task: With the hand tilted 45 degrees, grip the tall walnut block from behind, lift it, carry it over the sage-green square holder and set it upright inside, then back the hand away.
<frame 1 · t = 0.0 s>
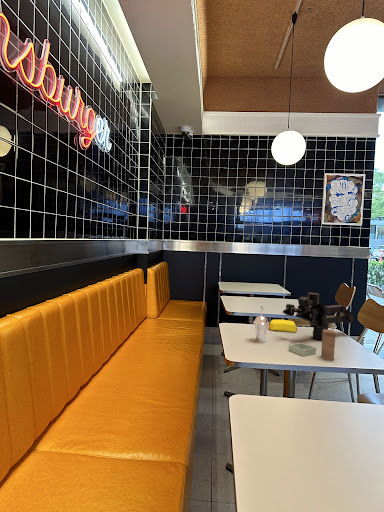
hand: (289, 313, 183), 17 cm above the table, tool horizontal, fingers open, 9 cm apart
cup with straw: (259, 341, 187), on the table
walnut block: (327, 357, 164), on the table
yellow rounded block: (282, 331, 213), on the table
green holder: (302, 352, 171), on the table
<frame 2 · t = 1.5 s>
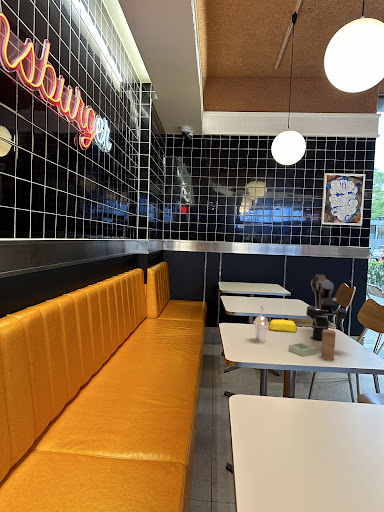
hand: (326, 326, 170), 14 cm above the table, tool tilted 45°, fingers open, 9 cm apart
nothing on the table moved.
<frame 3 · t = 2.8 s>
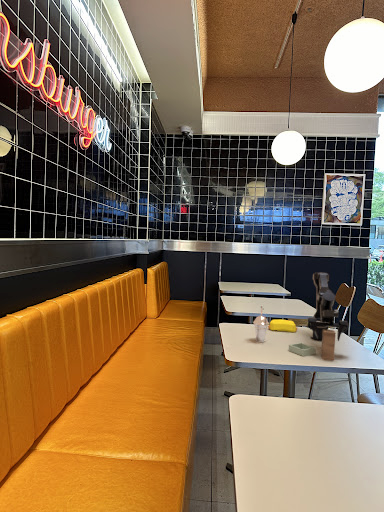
hand: (328, 339, 165), 9 cm above the table, tool tilted 45°, fingers open, 9 cm apart
nothing on the table moved.
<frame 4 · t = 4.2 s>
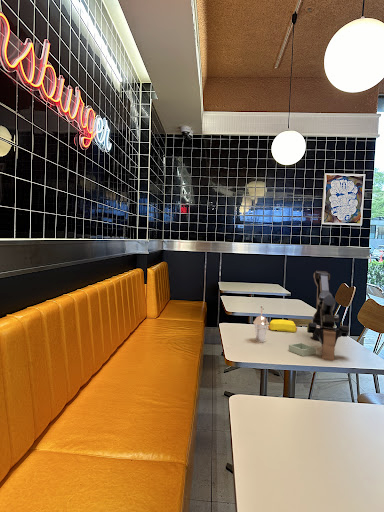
hand: (328, 344, 163), 7 cm above the table, tool tilted 45°, fingers closed on walnut block, 5 cm apart
walnut block: (327, 357, 164), on the table, touching gripper
everything else where it was.
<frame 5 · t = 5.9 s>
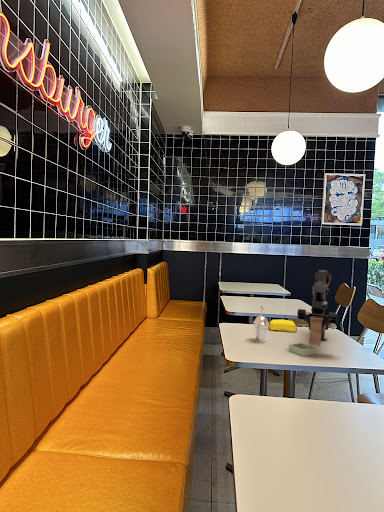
hand: (315, 330, 165), 12 cm above the table, tool tilted 45°, fingers closed on walnut block, 5 cm apart
walnut block: (314, 343, 167), point 6 cm above the table, touching gripper
everything else where it was.
when the fingers open (8 cm above the table, at t = 7.9 s): walnut block drops 1 cm, resting in green holder.
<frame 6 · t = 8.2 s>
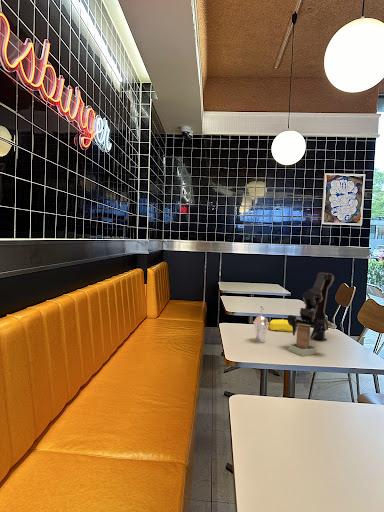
hand: (302, 336, 169), 8 cm above the table, tool tilted 45°, fingers open, 8 cm apart
walnut block: (302, 352, 171), resting in green holder
everything else where it was.
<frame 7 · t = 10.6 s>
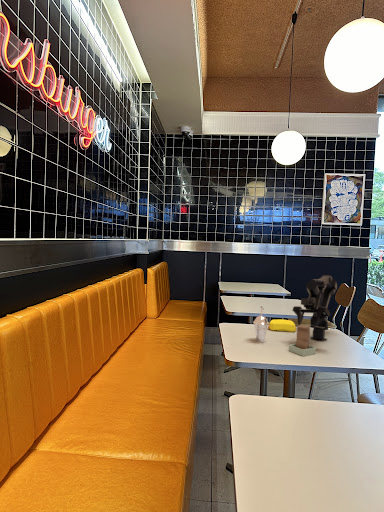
hand: (306, 325, 177), 12 cm above the table, tool tilted 40°, fingers open, 9 cm apart
nothing on the table moved.
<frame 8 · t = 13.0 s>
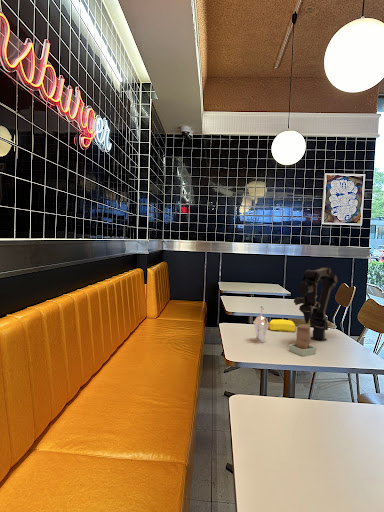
hand: (309, 321, 186), 12 cm above the table, tool pointing down, fingers open, 9 cm apart
nothing on the table moved.
at the end: walnut block 0.1 cm off-centre on the green holder, point 0.0 cm above the green holder's base; walnut block tilted 0°; the gripper is holding nothing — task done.
